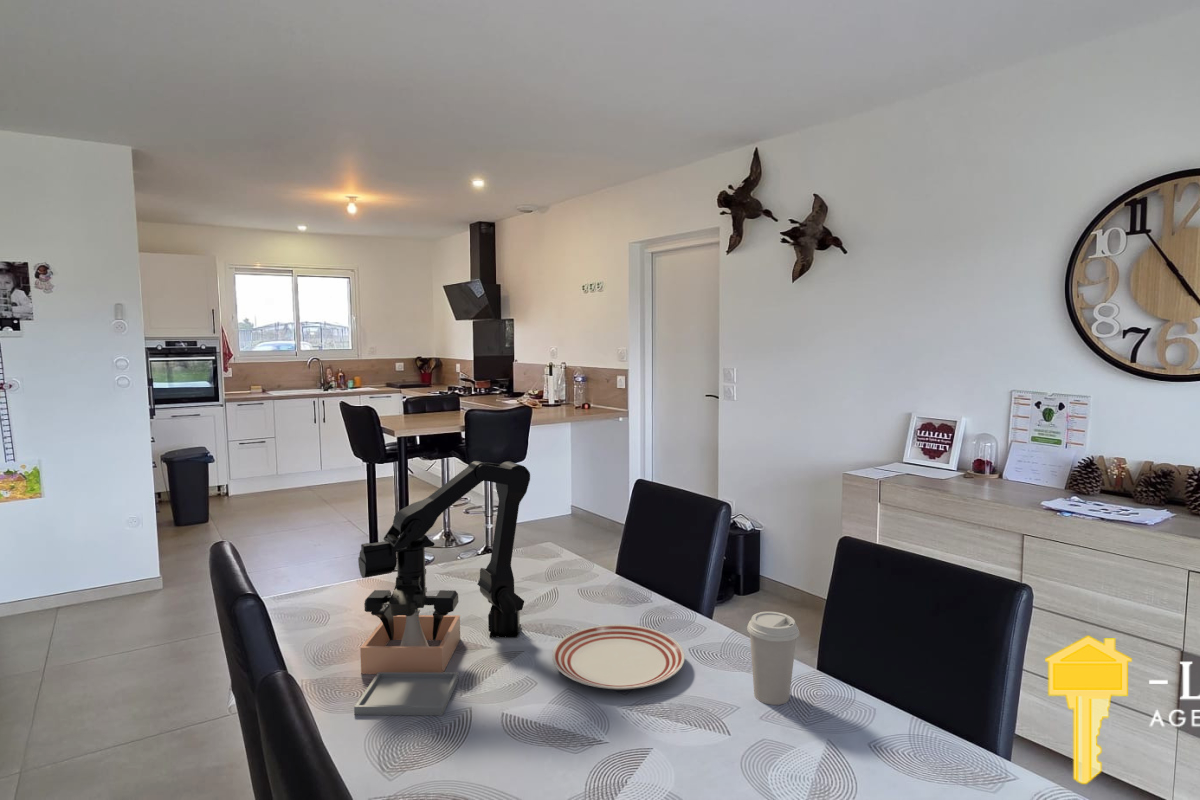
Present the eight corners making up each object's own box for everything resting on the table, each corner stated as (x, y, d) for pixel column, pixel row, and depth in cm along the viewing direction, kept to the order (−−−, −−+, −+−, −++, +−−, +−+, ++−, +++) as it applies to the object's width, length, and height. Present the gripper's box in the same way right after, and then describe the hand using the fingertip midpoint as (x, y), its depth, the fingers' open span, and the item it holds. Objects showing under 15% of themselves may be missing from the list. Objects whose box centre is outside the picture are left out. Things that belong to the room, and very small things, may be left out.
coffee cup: (769, 714, 124) (770, 634, 123) (735, 690, 133) (736, 615, 131) (808, 701, 129) (810, 624, 127) (773, 679, 137) (775, 606, 136)
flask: (421, 665, 143) (420, 618, 143) (389, 661, 145) (388, 616, 144) (436, 649, 150) (435, 605, 150) (405, 646, 152) (404, 603, 151)
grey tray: (458, 679, 137) (458, 672, 137) (442, 715, 124) (442, 707, 124) (378, 679, 137) (378, 672, 137) (354, 714, 124) (354, 706, 124)
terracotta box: (460, 638, 156) (459, 615, 155) (442, 674, 139) (442, 648, 139) (387, 638, 156) (386, 615, 156) (361, 673, 140) (360, 647, 139)
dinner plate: (689, 703, 129) (689, 686, 128) (544, 699, 130) (544, 682, 130) (680, 639, 156) (680, 625, 156) (560, 636, 157) (560, 622, 157)
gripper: (353, 581, 138) (356, 656, 139) (445, 582, 138) (447, 657, 139) (372, 563, 149) (374, 633, 151) (458, 564, 149) (459, 633, 150)
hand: (413, 639), depth 147 cm, fingers open, 9 cm apart
